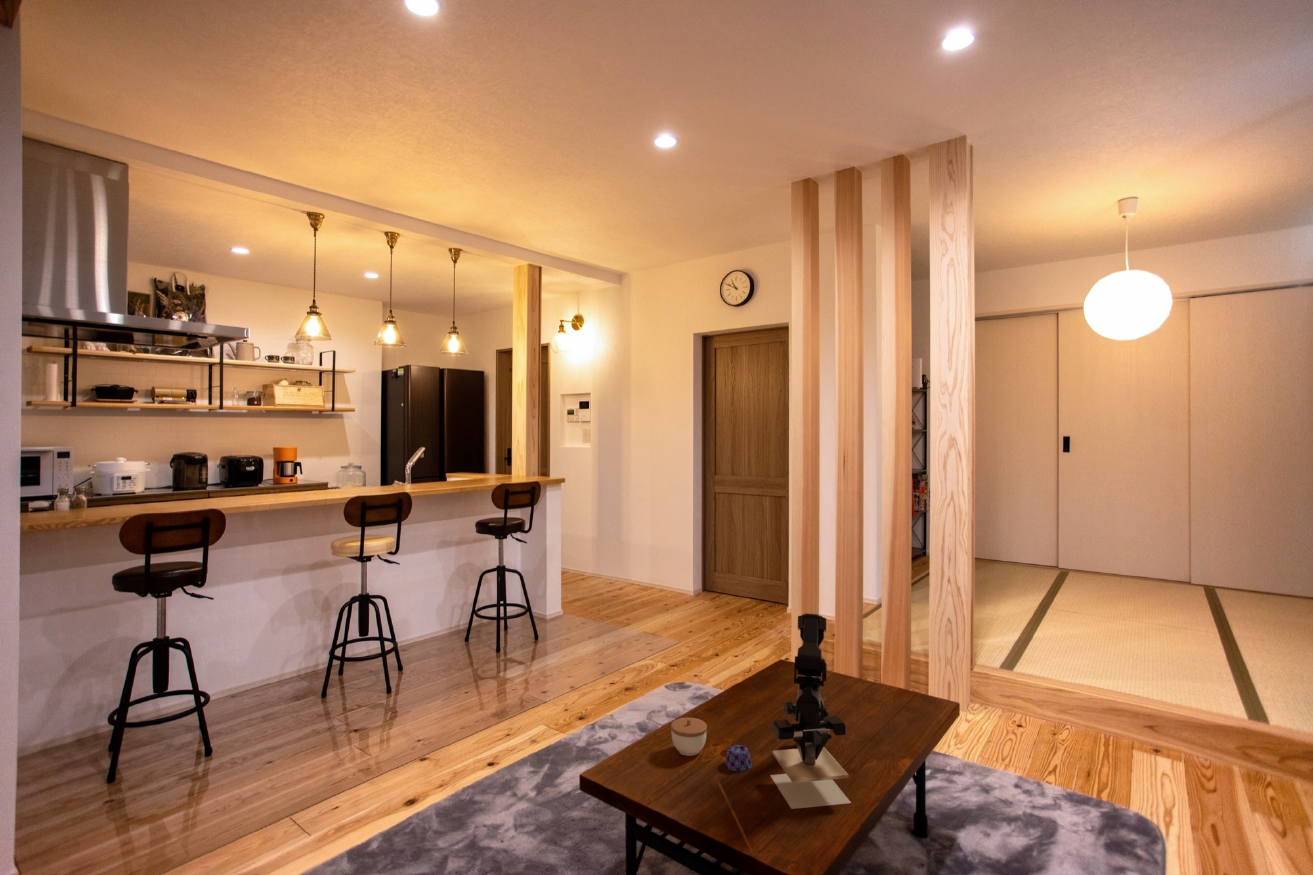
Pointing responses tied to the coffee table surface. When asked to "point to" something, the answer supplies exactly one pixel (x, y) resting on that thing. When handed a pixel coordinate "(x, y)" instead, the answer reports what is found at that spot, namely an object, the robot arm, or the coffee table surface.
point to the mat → (809, 792)
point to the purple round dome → (738, 758)
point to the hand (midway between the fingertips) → (809, 759)
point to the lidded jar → (688, 735)
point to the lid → (809, 765)
